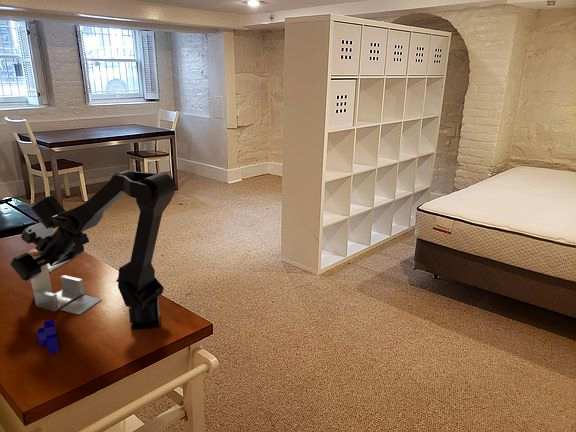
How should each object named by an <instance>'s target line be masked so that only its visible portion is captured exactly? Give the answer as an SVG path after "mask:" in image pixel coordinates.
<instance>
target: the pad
mask: <svg viewBox="0 0 576 432" xmlns="http://www.w3.org/2000/svg"><path fill="white" fill-rule="evenodd" d="M101 301H102V298H99V297H94V296H90V295H87V294H86V295H85V294H83V295H81V296H80V297H78V298H76V299H75V300H73V301H71V302H70V303H68V304H66V305H65V306H63V307H62V308H60V310H61V311H64V312H67V313H70V314H75V315H78V316H80V315H83V313H84V312H86V311H87V310H90V308H92V307H94V306H95V305H97V304H98V303H100V302H101Z"/></svg>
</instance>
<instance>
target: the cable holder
mask: <svg viewBox="0 0 576 432" xmlns="http://www.w3.org/2000/svg"><path fill="white" fill-rule="evenodd" d="M43 325H44V327H41V328H37V335H38V342H39V347H43V346H47V352H48V355H51V354H55V353H59V351H60V350H59V344H58V338H57V333H56V326H55V321H54V319H50V320H45V321H44V322H43Z"/></svg>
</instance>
